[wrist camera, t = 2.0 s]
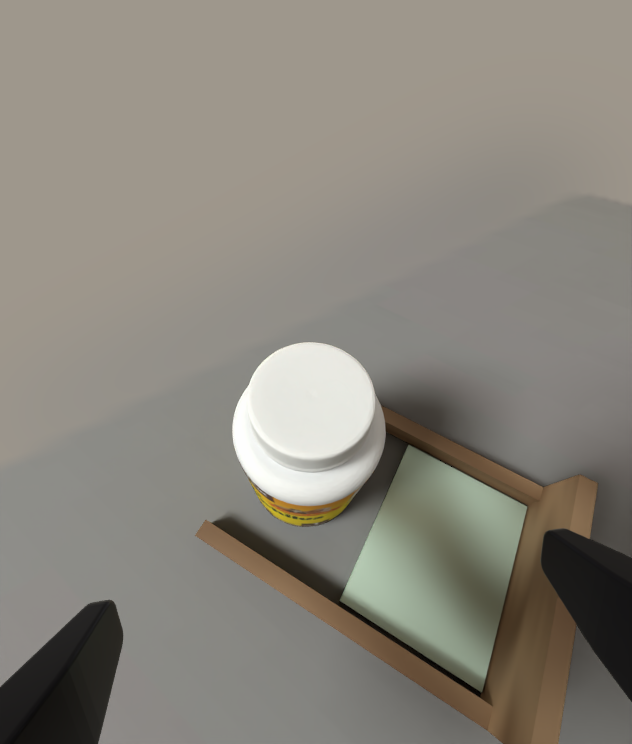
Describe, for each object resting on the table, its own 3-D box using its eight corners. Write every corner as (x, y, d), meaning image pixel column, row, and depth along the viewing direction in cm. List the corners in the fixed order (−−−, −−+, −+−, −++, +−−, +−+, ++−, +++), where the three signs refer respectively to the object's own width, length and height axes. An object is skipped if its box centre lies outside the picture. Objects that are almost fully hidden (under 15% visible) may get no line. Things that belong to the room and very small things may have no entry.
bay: (492, 731, 15) (552, 780, 11) (201, 537, 18) (177, 529, 14) (544, 499, 20) (598, 483, 16) (306, 377, 23) (307, 341, 19)
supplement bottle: (233, 491, 19) (177, 420, 10) (291, 410, 22) (285, 295, 13) (323, 552, 18) (347, 532, 9) (373, 459, 20) (432, 370, 11)
